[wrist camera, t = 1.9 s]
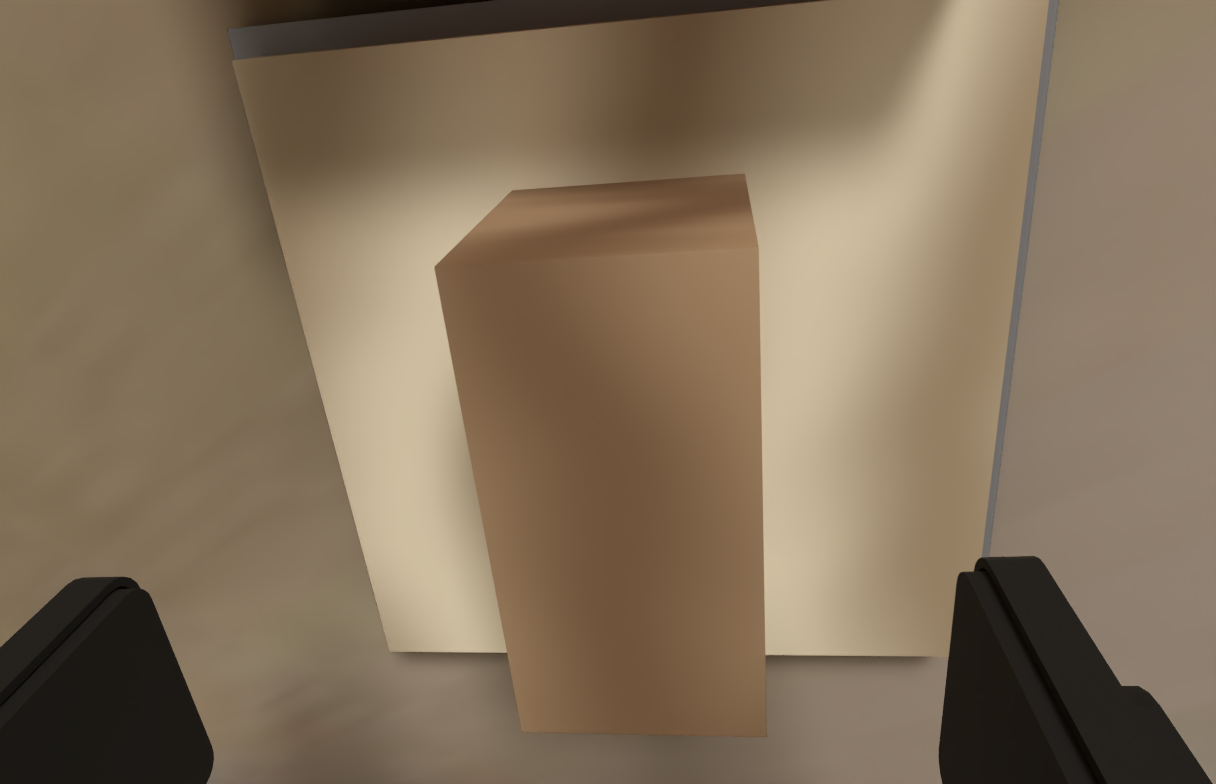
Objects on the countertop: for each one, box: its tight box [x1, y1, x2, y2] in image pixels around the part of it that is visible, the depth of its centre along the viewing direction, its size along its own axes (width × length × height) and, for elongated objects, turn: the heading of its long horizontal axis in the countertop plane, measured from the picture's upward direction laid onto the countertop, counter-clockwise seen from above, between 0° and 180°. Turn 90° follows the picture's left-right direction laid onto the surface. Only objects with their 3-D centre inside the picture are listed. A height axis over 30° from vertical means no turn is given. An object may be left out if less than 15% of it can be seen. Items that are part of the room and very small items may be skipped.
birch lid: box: [232, 0, 1049, 737], centre depth 14 cm, size 13×13×6 cm
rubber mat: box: [227, 0, 1059, 557], centre depth 17 cm, size 14×14×1 cm
